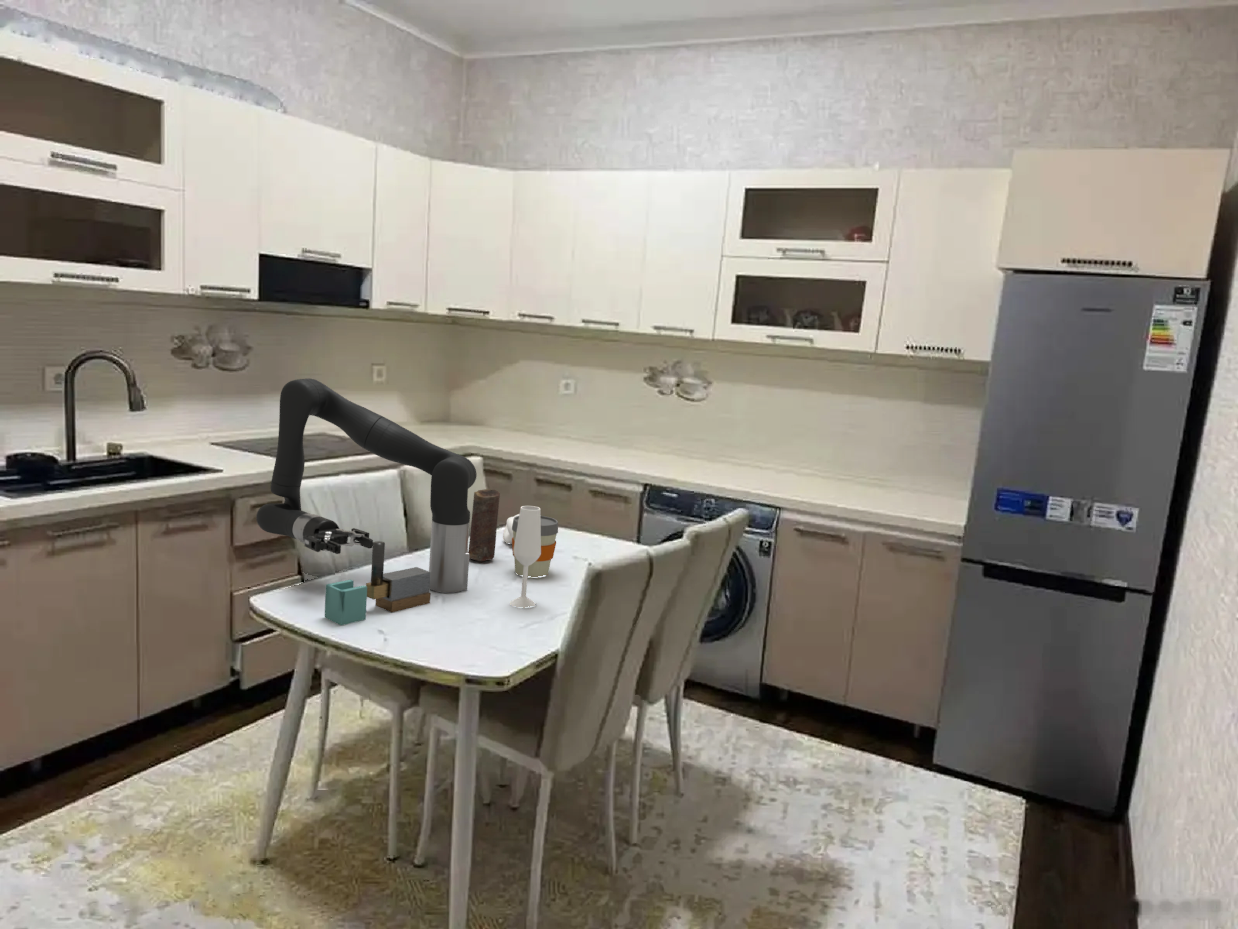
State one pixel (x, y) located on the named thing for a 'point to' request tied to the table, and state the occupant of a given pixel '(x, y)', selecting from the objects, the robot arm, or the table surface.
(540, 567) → the reusable coffee cup
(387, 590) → the board with post
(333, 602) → the socket
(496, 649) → the table surface
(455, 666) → the table surface
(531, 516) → the champagne flute
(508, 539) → the white rounded piece
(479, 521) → the candle
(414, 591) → the sleeve
